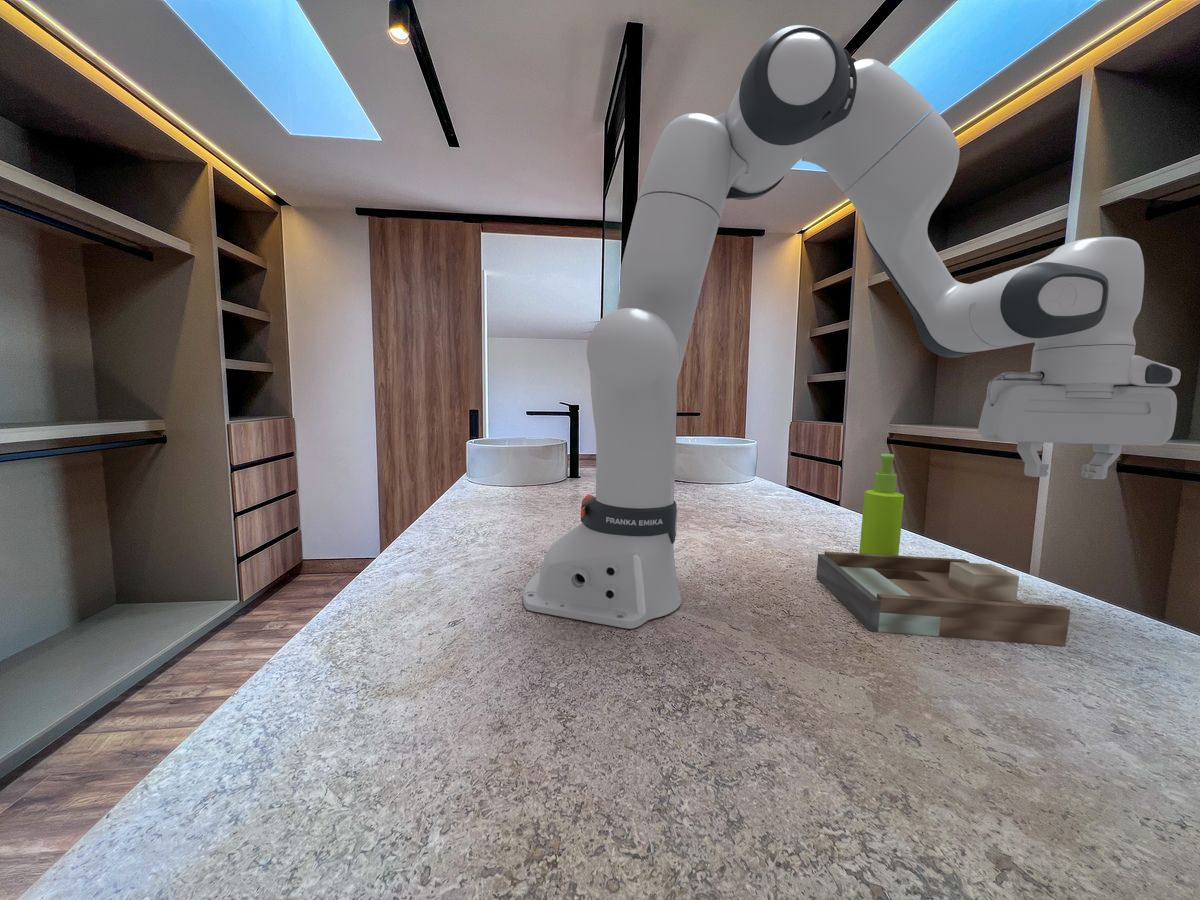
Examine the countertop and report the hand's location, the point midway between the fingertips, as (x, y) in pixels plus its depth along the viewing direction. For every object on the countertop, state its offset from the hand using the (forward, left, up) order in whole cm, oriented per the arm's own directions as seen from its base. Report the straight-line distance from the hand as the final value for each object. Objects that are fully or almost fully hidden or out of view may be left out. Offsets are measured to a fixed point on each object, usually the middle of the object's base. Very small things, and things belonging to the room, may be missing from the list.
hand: (1063, 477), depth 56 cm
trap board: (-16, 0, -19) cm, 25 cm away
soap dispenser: (-13, +17, -19) cm, 29 cm away
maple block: (-9, 0, -17) cm, 19 cm away
